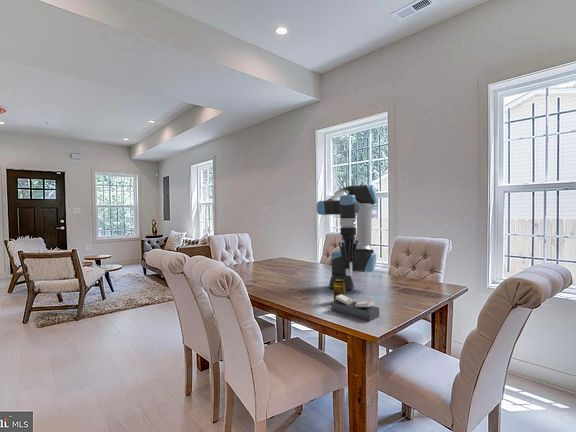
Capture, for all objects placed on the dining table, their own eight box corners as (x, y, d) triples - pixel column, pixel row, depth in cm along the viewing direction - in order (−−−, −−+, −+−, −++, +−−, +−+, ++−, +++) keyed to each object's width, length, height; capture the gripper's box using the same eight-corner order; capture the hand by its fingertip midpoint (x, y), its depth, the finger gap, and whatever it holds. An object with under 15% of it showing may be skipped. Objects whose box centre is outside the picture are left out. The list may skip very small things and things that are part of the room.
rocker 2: (355, 307, 139) (355, 303, 139) (361, 304, 142) (360, 301, 142) (368, 306, 134) (368, 303, 134) (374, 304, 137) (373, 300, 137)
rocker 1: (335, 298, 147) (336, 295, 146) (341, 296, 150) (341, 293, 150) (347, 305, 142) (348, 301, 142) (352, 302, 145) (353, 299, 145)
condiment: (330, 303, 159) (330, 280, 159) (339, 299, 165) (338, 277, 165) (342, 305, 154) (342, 282, 154) (351, 301, 161) (350, 278, 160)
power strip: (325, 309, 149) (325, 299, 149) (335, 305, 155) (335, 296, 155) (369, 321, 132) (369, 310, 131) (379, 316, 137) (379, 306, 137)
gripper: (346, 227, 140) (347, 278, 141) (362, 226, 149) (363, 274, 150) (333, 227, 146) (334, 276, 146) (349, 226, 155) (350, 272, 155)
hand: (349, 275), depth 148 cm, fingers closed
